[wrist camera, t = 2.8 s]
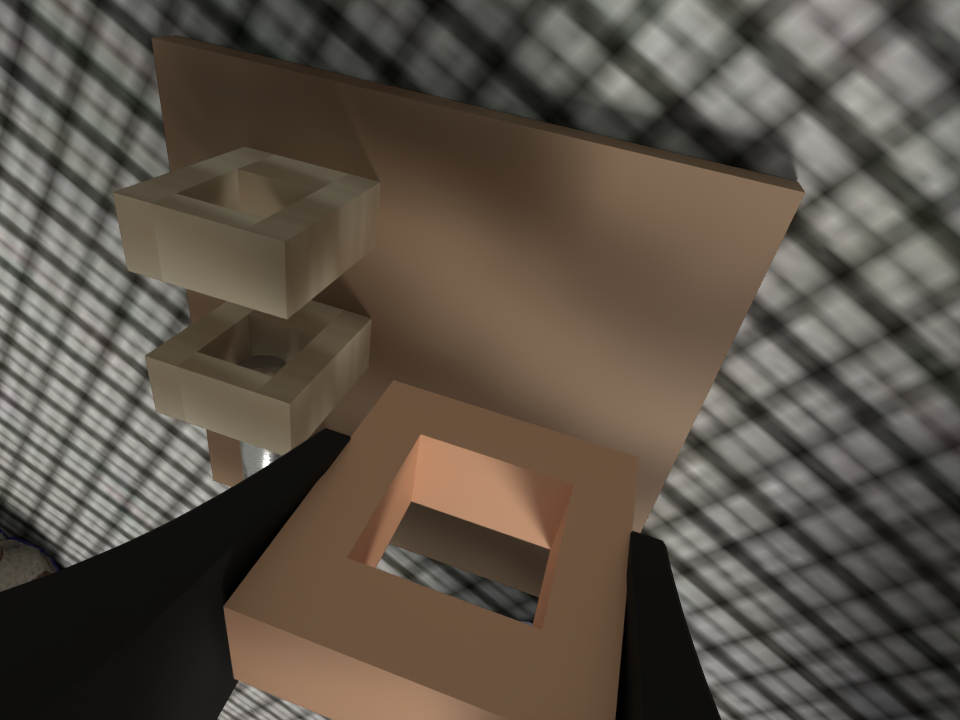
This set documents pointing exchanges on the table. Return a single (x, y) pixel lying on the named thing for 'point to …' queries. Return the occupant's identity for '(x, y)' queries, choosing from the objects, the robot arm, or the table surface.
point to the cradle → (435, 272)
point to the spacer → (426, 612)
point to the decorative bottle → (22, 562)
